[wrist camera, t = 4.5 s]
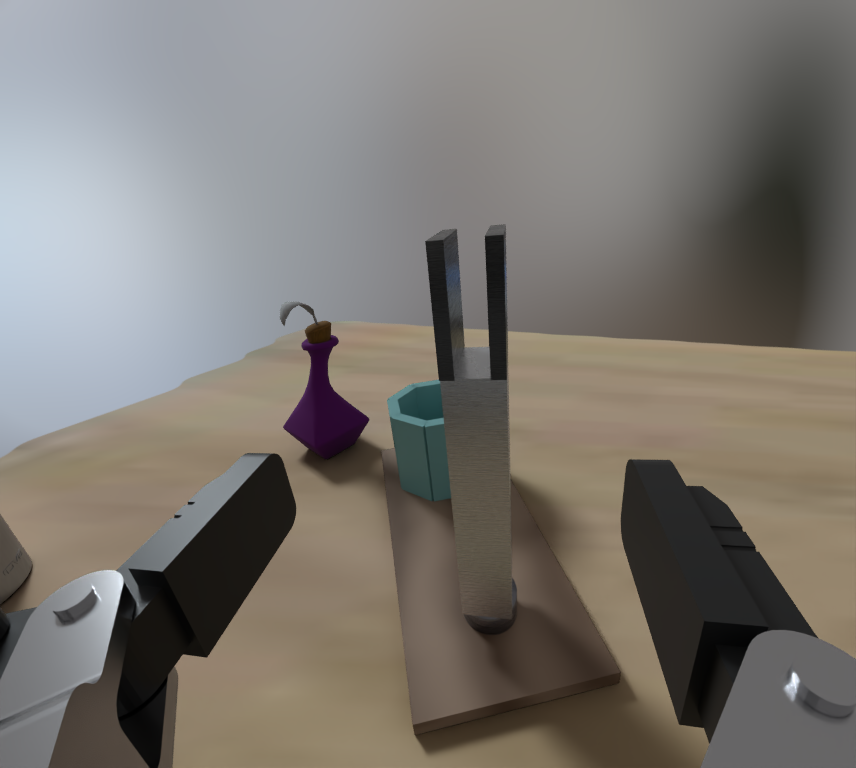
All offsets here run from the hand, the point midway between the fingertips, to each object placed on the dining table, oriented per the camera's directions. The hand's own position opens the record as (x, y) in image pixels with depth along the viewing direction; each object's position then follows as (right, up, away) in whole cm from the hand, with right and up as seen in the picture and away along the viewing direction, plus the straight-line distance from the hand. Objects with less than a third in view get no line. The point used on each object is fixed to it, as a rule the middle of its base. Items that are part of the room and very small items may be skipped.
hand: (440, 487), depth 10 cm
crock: (+1, -6, +33) cm, 33 cm away
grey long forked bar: (+4, -13, +18) cm, 22 cm away
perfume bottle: (-12, -5, +41) cm, 43 cm away
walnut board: (+3, -10, +26) cm, 28 cm away
